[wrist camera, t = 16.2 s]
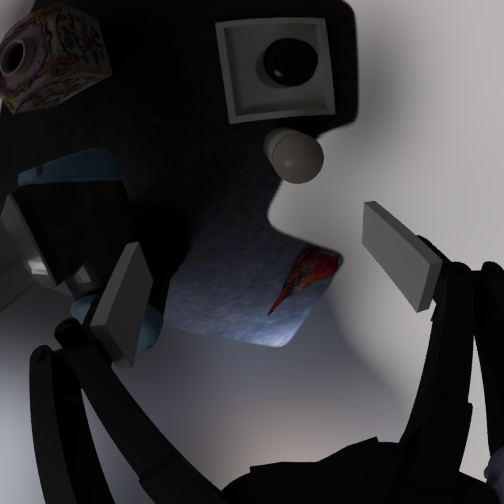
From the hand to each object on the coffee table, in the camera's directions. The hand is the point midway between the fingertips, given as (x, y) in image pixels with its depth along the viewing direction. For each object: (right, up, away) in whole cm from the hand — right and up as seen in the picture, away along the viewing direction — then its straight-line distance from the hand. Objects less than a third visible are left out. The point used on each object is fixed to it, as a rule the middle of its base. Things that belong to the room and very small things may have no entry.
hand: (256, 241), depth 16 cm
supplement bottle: (+3, +27, +20) cm, 34 cm away
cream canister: (+5, +16, +28) cm, 33 cm away
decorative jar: (-29, +30, +16) cm, 44 cm away
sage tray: (+3, +27, +21) cm, 35 cm away
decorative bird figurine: (+8, -3, +40) cm, 41 cm away
